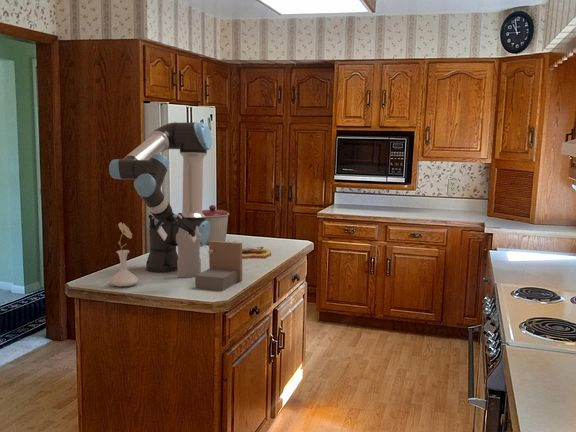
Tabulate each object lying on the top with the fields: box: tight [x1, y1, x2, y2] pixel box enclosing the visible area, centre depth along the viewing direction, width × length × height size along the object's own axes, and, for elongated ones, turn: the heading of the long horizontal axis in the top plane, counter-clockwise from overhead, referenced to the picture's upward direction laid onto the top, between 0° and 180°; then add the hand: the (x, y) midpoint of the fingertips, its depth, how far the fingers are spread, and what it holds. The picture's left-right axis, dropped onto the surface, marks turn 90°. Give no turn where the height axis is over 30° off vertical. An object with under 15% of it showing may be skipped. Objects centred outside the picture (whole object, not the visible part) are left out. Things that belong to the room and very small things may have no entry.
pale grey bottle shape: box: [176, 226, 202, 279], centre depth 252 cm, size 11×4×22 cm, turn 105°
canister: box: [202, 204, 230, 246], centre depth 325 cm, size 18×18×21 cm
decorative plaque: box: [232, 240, 272, 260], centre depth 298 cm, size 30×7×20 cm
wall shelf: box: [194, 241, 243, 291], centre depth 240 cm, size 14×16×16 cm
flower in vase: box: [108, 222, 139, 287], centre depth 238 cm, size 13×11×25 cm
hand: (180, 238), depth 244 cm, fingers open, 13 cm apart
